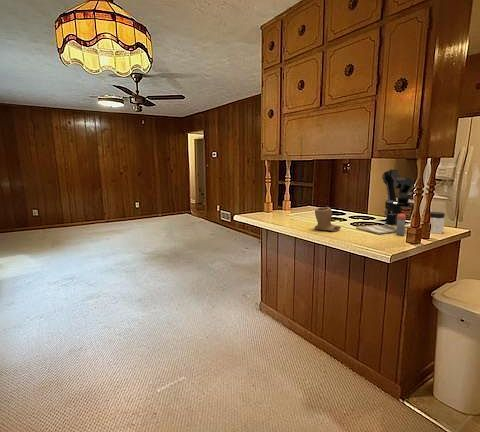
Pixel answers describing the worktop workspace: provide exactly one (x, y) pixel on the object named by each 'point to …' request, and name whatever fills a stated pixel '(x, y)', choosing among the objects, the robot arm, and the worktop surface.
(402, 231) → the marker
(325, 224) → the brown boot-shaped piece
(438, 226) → the jar
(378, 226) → the brown framed square board
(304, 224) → the worktop surface
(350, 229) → the worktop surface
